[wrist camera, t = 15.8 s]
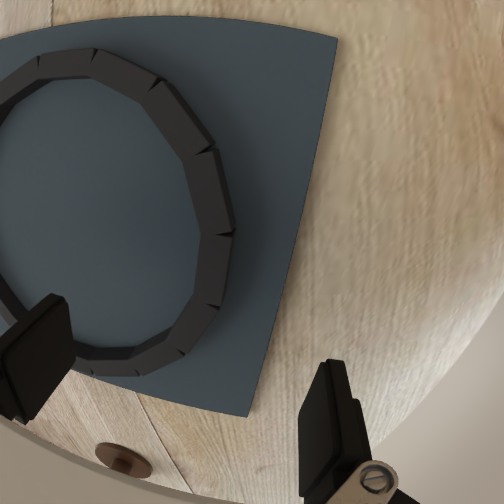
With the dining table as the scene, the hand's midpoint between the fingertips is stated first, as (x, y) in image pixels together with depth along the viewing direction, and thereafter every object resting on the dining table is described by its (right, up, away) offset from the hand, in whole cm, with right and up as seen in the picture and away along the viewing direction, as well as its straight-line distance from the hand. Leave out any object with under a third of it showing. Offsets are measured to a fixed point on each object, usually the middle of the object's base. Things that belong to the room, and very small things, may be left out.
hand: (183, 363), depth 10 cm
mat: (-9, +6, +8) cm, 14 cm away
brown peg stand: (-12, -20, +19) cm, 30 cm away
